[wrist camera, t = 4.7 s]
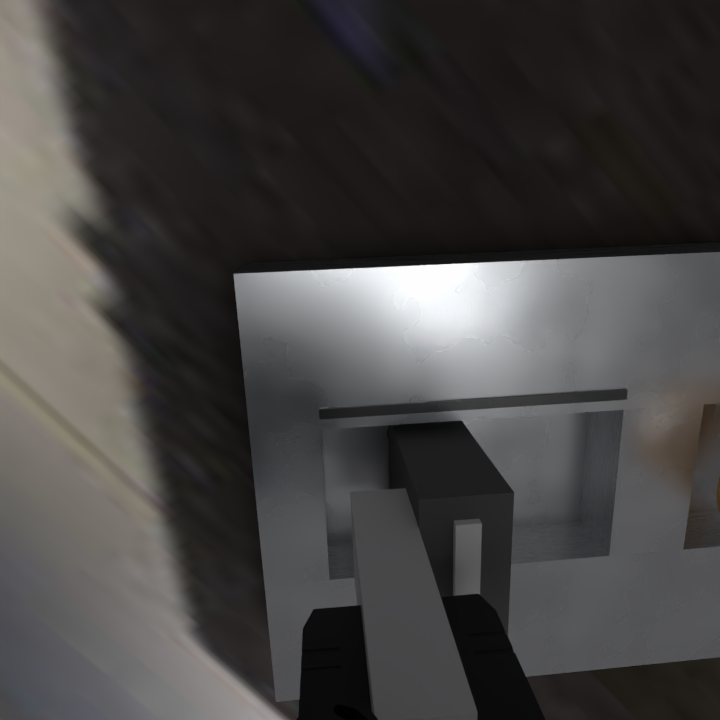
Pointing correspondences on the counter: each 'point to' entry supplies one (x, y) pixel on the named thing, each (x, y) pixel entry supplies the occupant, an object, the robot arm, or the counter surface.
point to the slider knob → (457, 508)
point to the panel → (501, 432)
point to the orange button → (718, 495)
